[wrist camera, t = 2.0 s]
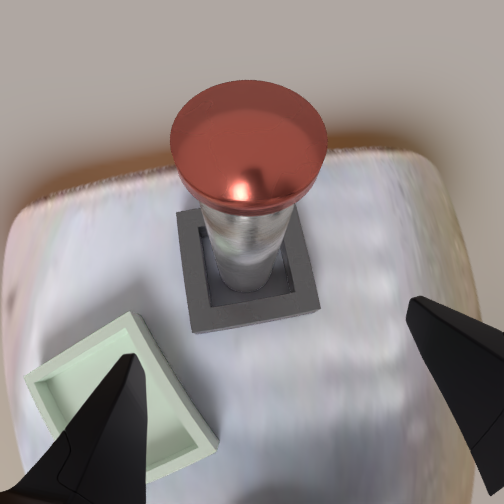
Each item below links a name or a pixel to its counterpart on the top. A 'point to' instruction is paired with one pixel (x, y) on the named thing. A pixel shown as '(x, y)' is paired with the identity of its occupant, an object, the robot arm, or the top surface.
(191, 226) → the tensioner block
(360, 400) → the top surface
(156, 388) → the tray
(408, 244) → the top surface
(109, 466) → the robot arm
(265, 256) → the pin
